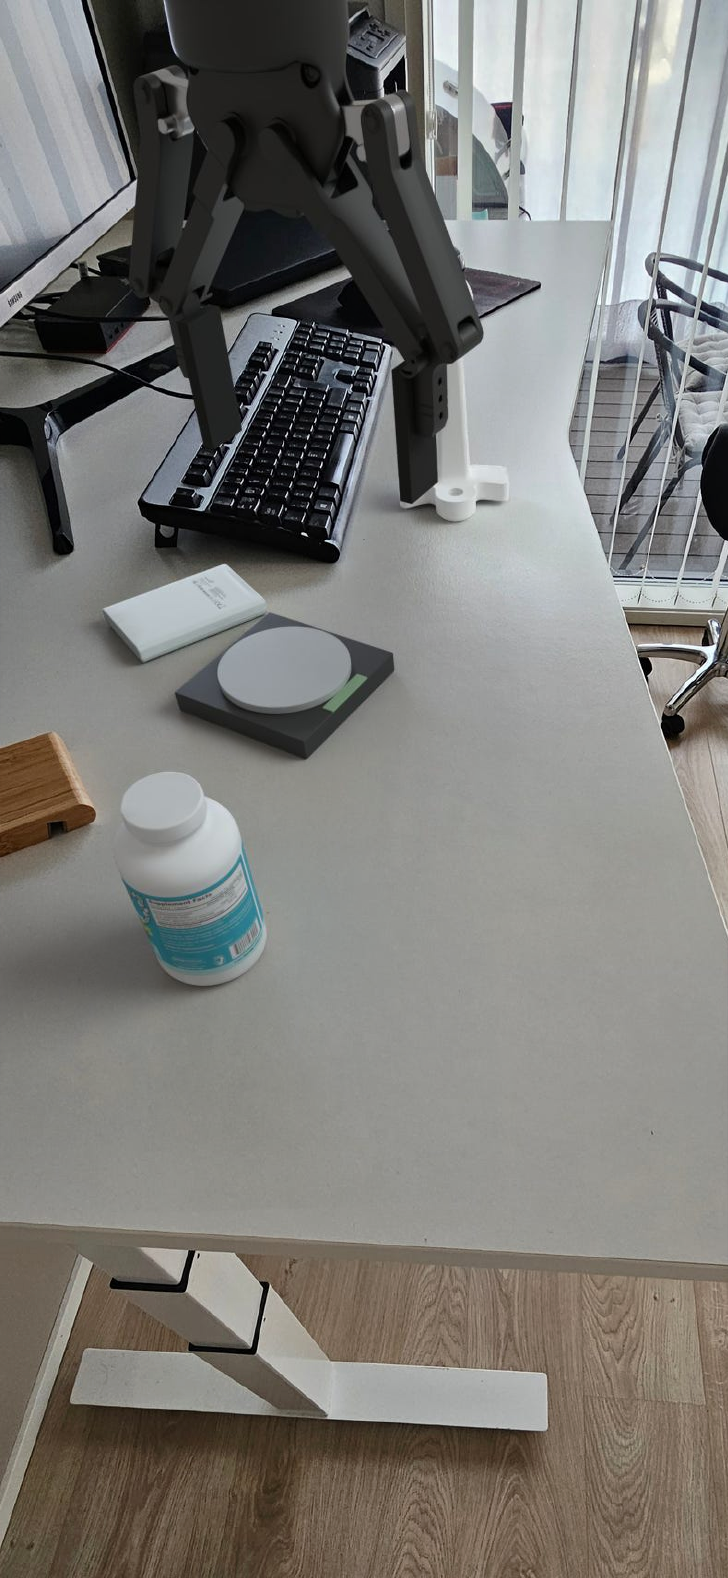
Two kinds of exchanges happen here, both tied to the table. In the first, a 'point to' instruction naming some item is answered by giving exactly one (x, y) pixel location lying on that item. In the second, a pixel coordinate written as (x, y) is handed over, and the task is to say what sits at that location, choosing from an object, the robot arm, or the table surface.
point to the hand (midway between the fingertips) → (317, 465)
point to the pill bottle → (189, 880)
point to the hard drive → (184, 612)
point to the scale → (286, 683)
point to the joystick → (460, 461)
